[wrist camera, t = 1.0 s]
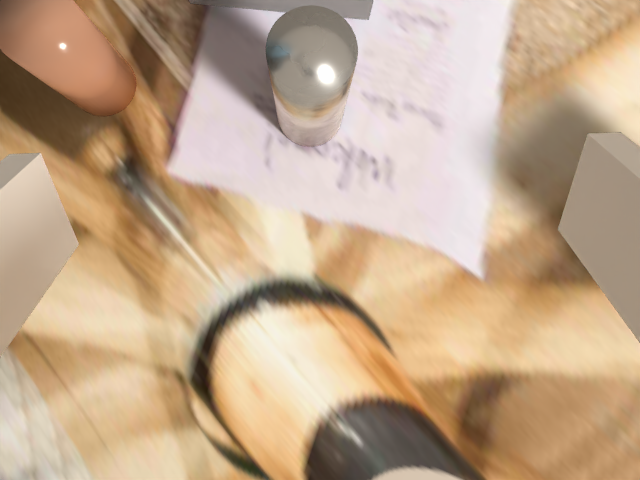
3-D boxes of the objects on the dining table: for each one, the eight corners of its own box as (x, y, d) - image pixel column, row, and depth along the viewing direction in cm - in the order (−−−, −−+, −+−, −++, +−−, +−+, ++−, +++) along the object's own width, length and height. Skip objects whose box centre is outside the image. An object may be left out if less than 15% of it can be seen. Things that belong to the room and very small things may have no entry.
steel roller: (275, 143, 36) (262, 90, 25) (280, 80, 37) (269, 1, 26) (339, 149, 37) (354, 98, 26) (344, 86, 37) (361, 9, 26)
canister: (66, 113, 36) (-13, 62, 27) (73, 49, 36) (-3, -22, 27) (132, 119, 36) (75, 70, 27) (139, 55, 36) (85, -14, 27)
